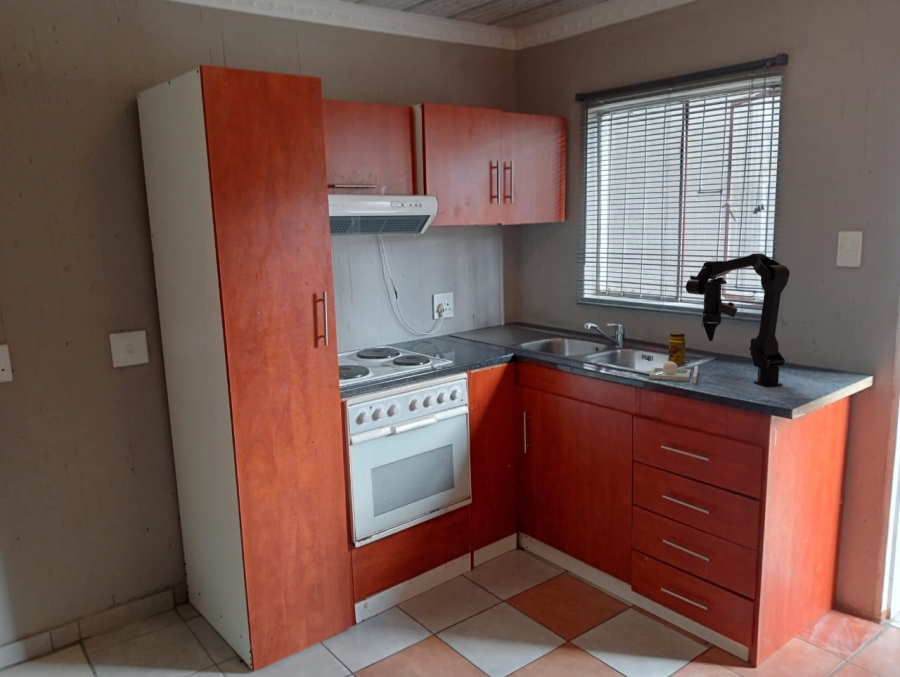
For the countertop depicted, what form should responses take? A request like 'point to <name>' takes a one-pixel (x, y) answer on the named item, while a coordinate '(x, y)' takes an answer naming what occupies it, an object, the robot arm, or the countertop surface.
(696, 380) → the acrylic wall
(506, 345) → the countertop surface
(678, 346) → the condiment
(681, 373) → the tray
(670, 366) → the ball
